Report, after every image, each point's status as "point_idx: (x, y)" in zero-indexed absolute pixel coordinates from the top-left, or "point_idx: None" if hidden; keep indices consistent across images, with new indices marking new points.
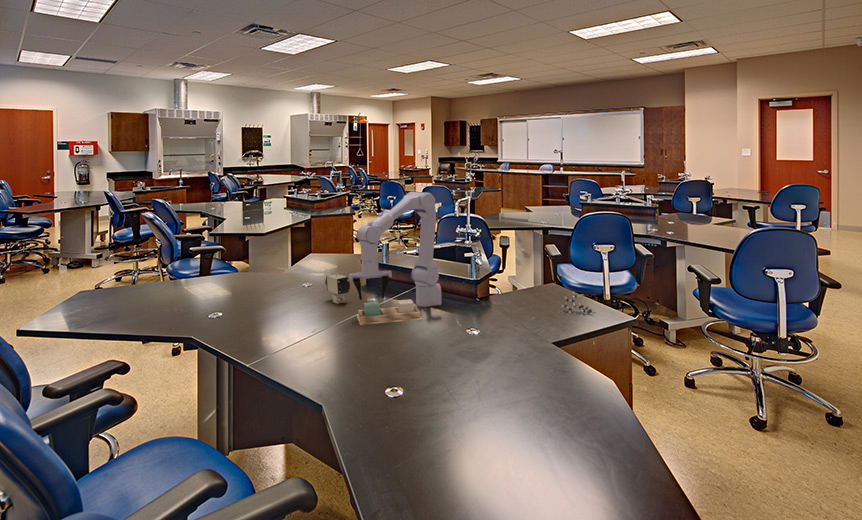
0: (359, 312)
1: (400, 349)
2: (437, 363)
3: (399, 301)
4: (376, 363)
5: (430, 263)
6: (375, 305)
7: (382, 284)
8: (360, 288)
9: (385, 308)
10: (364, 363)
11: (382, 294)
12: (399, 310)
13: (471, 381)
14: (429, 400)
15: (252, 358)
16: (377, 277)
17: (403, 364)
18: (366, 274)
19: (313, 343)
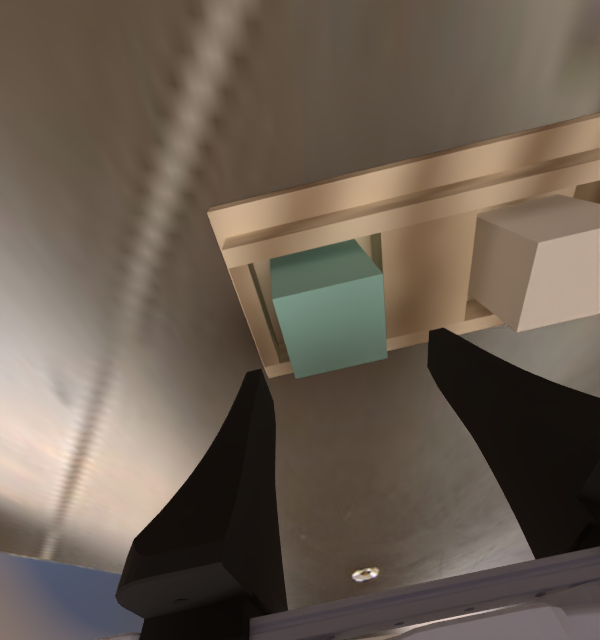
0: (242, 296)
1: (398, 484)
2: (456, 520)
3: (541, 271)
4: (339, 530)
5: None
6: (359, 351)
7: (507, 498)
8: (273, 515)
9: (414, 217)
10: (314, 532)
11: (446, 393)
12: (488, 291)
13: (483, 549)
14: (408, 579)
15: (22, 543)
16: (525, 574)
17: (392, 527)
18: None
19: (139, 474)
